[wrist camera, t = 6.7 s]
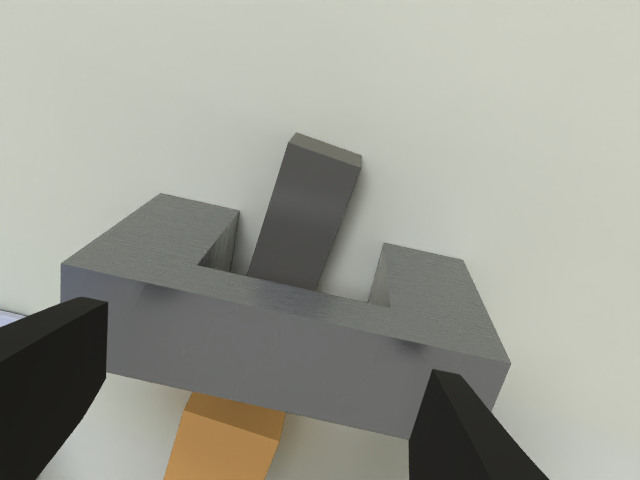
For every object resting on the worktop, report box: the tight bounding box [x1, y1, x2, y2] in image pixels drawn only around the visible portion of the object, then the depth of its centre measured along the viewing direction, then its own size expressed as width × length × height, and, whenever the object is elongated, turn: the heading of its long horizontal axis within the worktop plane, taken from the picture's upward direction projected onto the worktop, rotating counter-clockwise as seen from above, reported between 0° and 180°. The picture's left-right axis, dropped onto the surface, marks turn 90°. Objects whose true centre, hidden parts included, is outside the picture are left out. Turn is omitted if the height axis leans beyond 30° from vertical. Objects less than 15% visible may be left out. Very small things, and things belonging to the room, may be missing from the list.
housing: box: [61, 193, 511, 440], centre depth 16 cm, size 3×12×6 cm, turn 78°
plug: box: [164, 132, 361, 480], centre depth 18 cm, size 14×4×4 cm, turn 161°
